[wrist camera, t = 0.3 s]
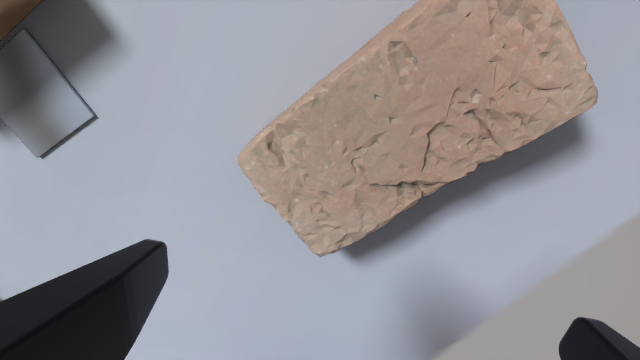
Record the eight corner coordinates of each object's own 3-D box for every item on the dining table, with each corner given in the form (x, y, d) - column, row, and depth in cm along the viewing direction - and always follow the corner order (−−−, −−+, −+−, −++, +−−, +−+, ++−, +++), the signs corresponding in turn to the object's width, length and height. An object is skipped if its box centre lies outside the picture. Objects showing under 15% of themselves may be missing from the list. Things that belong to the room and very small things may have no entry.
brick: (325, 230, 24) (318, 273, 20) (245, 139, 22) (218, 165, 18) (557, 83, 19) (615, 98, 15) (481, -54, 17) (523, -83, 13)
